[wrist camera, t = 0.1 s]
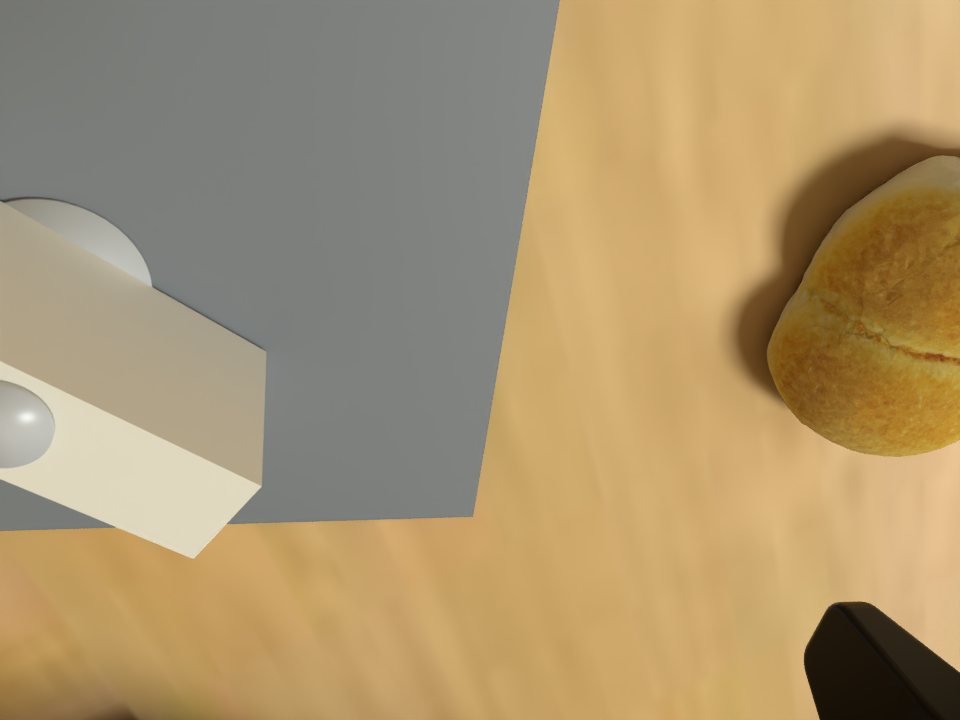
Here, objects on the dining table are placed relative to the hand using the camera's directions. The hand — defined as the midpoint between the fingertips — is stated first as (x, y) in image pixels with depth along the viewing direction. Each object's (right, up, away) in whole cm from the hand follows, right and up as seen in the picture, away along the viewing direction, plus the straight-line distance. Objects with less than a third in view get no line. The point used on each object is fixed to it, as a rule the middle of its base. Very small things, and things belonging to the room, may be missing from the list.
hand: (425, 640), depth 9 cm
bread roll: (+13, +5, +18) cm, 23 cm away
